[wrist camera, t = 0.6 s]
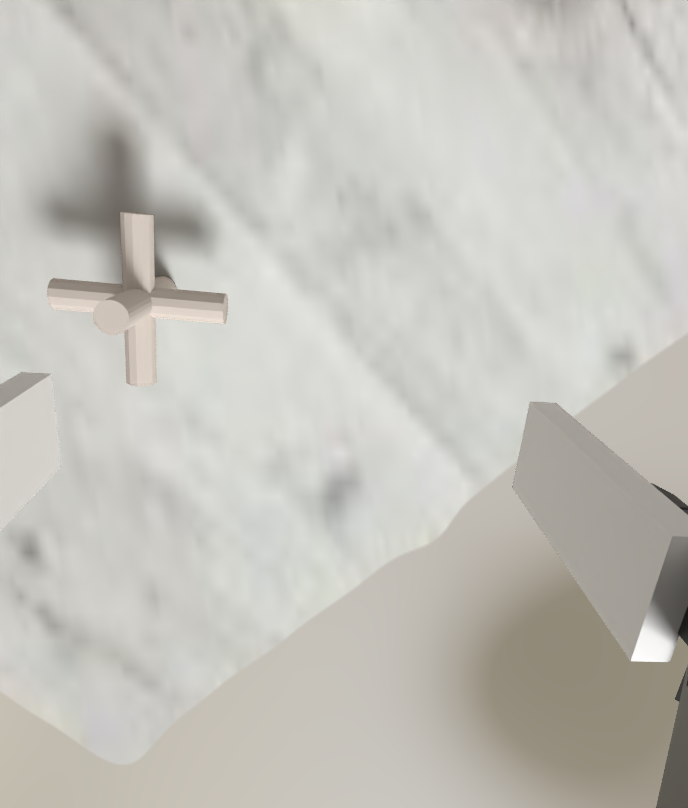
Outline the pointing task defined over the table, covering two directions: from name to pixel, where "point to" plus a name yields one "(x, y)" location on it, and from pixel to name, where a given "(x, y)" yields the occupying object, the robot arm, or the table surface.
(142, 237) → the pipe connector
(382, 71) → the table surface
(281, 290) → the table surface
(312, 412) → the table surface
